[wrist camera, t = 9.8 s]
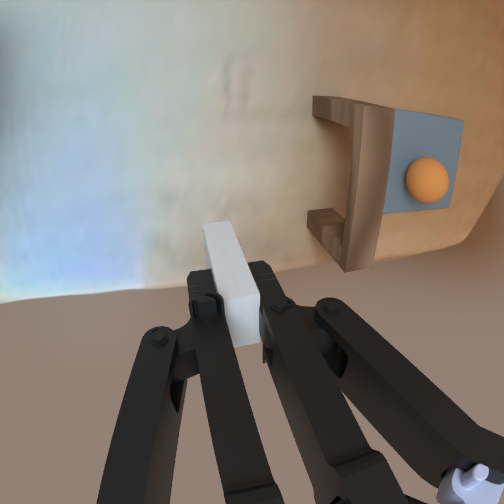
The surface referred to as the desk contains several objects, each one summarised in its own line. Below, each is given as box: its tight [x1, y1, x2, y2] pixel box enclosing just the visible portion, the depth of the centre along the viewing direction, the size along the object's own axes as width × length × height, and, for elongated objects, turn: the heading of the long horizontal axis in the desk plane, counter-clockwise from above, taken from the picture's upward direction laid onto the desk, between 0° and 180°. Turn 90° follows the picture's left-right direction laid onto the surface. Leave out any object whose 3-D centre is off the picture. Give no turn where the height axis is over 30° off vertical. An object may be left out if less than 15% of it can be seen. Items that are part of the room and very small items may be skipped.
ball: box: [406, 157, 449, 203], centre depth 33 cm, size 6×6×6 cm
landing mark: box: [383, 109, 464, 214], centre depth 35 cm, size 13×13×1 cm
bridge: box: [307, 96, 395, 272], centre depth 28 cm, size 3×14×9 cm, turn 1°
